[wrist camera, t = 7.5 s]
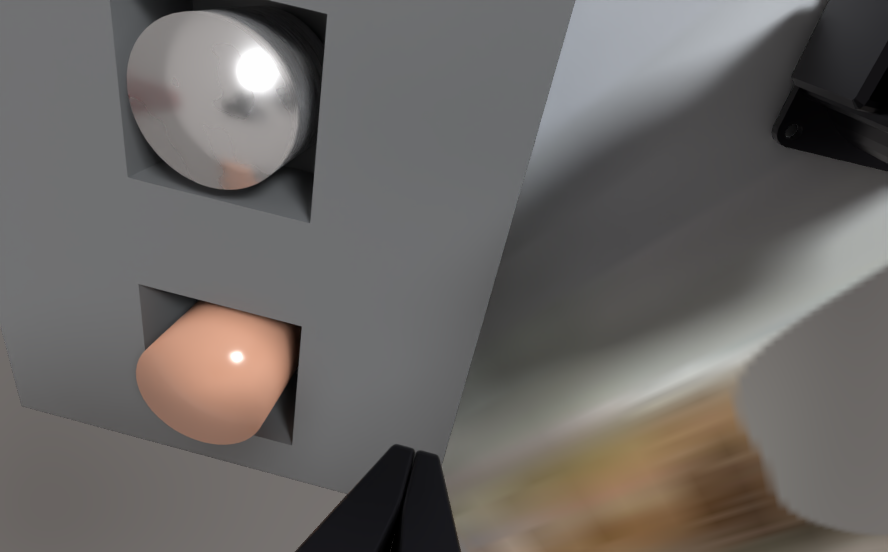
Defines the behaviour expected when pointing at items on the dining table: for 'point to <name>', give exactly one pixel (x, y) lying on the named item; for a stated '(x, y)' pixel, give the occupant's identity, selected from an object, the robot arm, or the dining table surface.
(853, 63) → the robot arm
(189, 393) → the terracotta plunger
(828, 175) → the dining table surface
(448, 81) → the block
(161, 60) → the grey plunger
